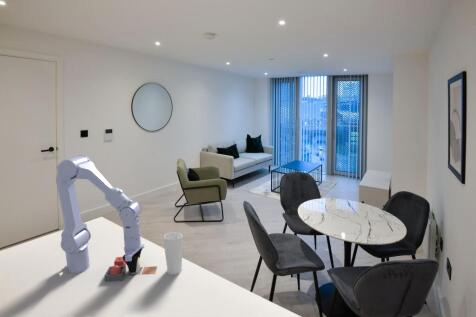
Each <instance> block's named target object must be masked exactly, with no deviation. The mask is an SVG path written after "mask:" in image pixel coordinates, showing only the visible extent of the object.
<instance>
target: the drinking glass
mask: <svg viewBox="0 0 476 317" xmlns="http://www.w3.org/2000/svg"><path fill="white" fill-rule="evenodd" d="M183 240H184V239H183V234H182V233H181V232H178V231H172V232H167V233H166V234H164V236H163V246H164V254H165V261H166V271H167V274H168V275H172V276H173V275H179V274H180V273H182V271H183V268H182V267H183V264H182V263H183V252H184V251H183V250H184V249H183V248H184V247H183V246H184V242H183Z"/></svg>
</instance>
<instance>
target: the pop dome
mask: <svg viewBox="0 0 476 317" xmlns="http://www.w3.org/2000/svg"><path fill="white" fill-rule="evenodd" d="M110 267H111V266H110ZM110 274H121V268H120V267H119V266H118V265H112V267H111V269H110Z"/></svg>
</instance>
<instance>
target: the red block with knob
mask: <svg viewBox="0 0 476 317" xmlns="http://www.w3.org/2000/svg"><path fill="white" fill-rule="evenodd" d="M113 264H114V265H118V266H126V267H127V264H126V263H125V261H124V260H123V256H116V257H115V259H114V261H113ZM114 265H113V266H114Z"/></svg>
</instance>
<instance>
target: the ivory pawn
mask: <svg viewBox="0 0 476 317" xmlns="http://www.w3.org/2000/svg"><path fill="white" fill-rule="evenodd" d="M140 259H141V256H140V257H139V258H138V261H137V269H136V273H138V272H140V267H141V261H140ZM129 273H130V272H129ZM136 273H130V274H136Z"/></svg>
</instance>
